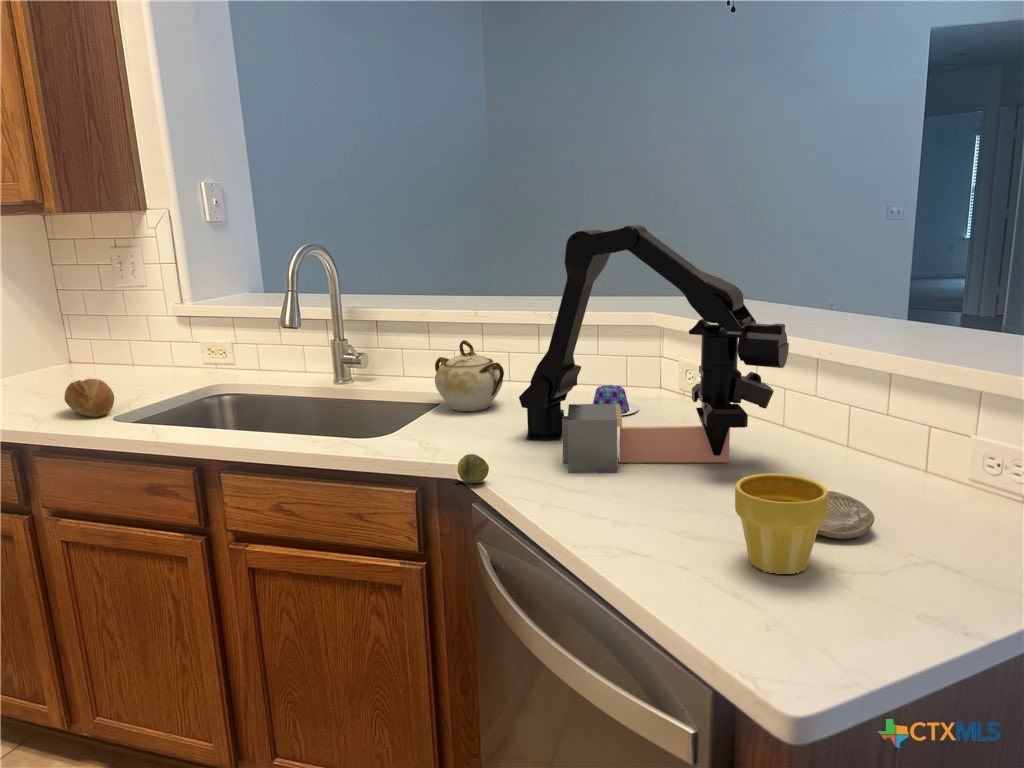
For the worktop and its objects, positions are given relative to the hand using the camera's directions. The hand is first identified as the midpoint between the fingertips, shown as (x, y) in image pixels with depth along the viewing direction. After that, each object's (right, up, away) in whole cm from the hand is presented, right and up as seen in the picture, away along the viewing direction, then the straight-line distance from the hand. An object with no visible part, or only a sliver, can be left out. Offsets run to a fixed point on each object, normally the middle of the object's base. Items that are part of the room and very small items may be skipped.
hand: (716, 453), depth 129 cm
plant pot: (-2, -10, -36) cm, 37 cm away
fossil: (+8, -8, -26) cm, 28 cm away
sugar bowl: (-43, +6, +41) cm, 60 cm away
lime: (-40, -4, -5) cm, 41 cm away
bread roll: (-130, +5, +48) cm, 139 cm away
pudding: (-13, +6, +35) cm, 38 cm away
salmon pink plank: (-7, -1, +1) cm, 7 cm away
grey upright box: (-20, -2, +2) cm, 21 cm away
